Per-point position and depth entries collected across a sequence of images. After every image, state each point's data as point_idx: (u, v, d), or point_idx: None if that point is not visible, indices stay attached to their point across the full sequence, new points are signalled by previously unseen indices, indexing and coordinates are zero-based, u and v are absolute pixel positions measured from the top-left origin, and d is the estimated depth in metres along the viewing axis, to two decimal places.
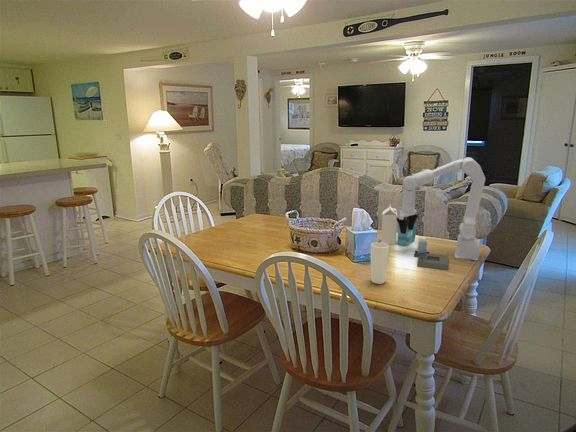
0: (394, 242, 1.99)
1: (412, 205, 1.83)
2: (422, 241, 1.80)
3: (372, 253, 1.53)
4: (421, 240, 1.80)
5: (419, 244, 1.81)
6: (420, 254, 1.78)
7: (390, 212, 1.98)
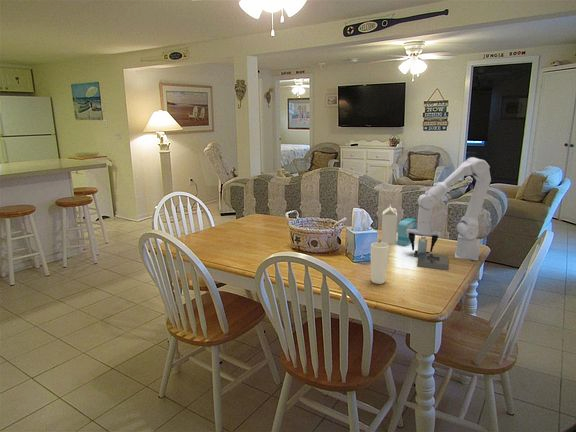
0: (394, 242, 1.99)
1: (420, 224, 1.78)
2: (422, 241, 1.80)
3: (372, 253, 1.53)
4: (421, 240, 1.80)
5: (419, 244, 1.81)
6: (420, 254, 1.78)
7: (390, 212, 1.98)
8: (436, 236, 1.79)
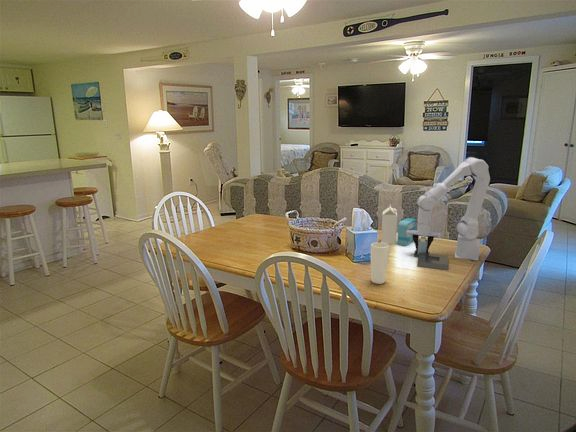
0: (394, 242, 1.99)
1: (420, 225, 1.78)
2: (422, 241, 1.80)
3: (372, 253, 1.53)
4: (421, 240, 1.80)
5: (419, 244, 1.81)
6: (420, 254, 1.78)
7: (390, 212, 1.98)
8: (436, 237, 1.79)
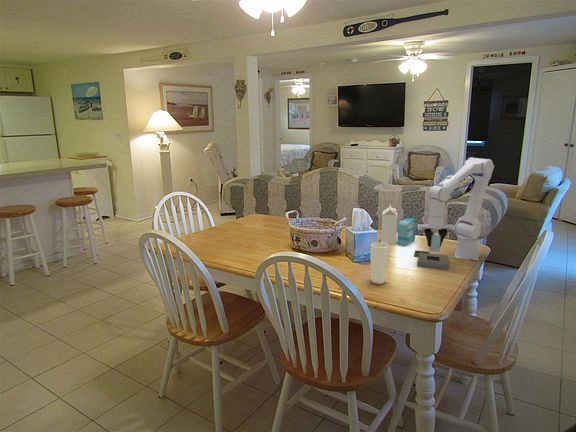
0: (394, 242, 1.99)
1: (435, 218, 1.66)
2: (436, 235, 1.69)
3: (372, 253, 1.53)
4: (435, 234, 1.69)
5: (432, 239, 1.70)
6: (420, 254, 1.78)
7: (390, 212, 1.98)
8: (449, 229, 1.69)
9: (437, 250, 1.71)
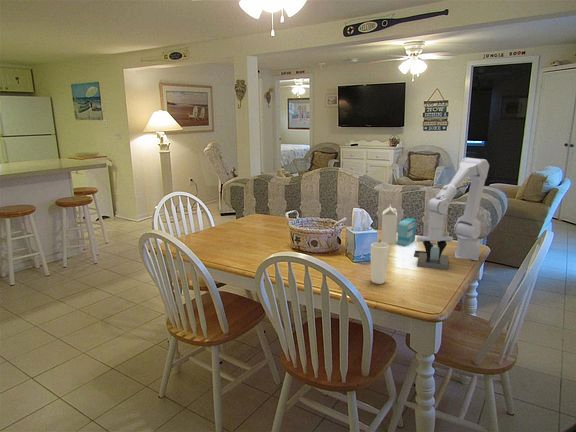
0: (394, 242, 1.99)
1: (434, 230, 1.68)
2: (435, 247, 1.70)
3: (372, 253, 1.53)
4: (434, 246, 1.70)
5: (432, 250, 1.71)
6: (420, 254, 1.78)
7: (390, 212, 1.98)
8: (448, 241, 1.70)
9: None
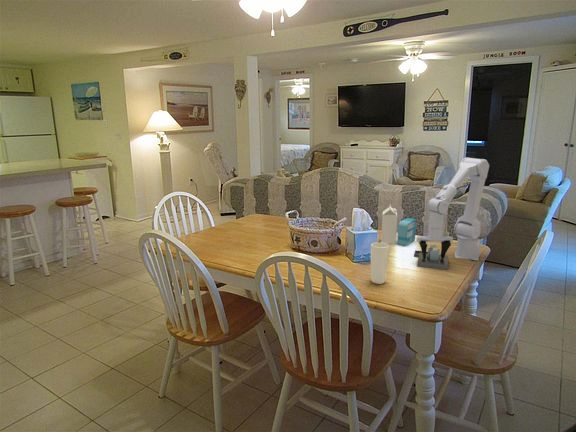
0: (394, 242, 1.99)
1: (434, 230, 1.68)
2: (434, 250, 1.71)
3: (372, 253, 1.53)
4: (433, 249, 1.71)
5: (431, 253, 1.71)
6: (420, 254, 1.78)
7: (390, 212, 1.98)
8: (448, 241, 1.70)
9: None
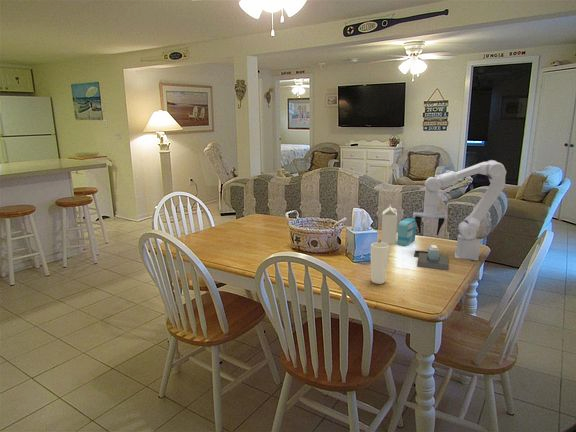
0: (394, 242, 1.99)
1: (427, 206, 1.79)
2: (434, 250, 1.71)
3: (372, 253, 1.53)
4: (433, 249, 1.71)
5: (431, 253, 1.71)
6: (420, 254, 1.78)
7: (390, 212, 1.98)
8: (443, 219, 1.80)
9: None
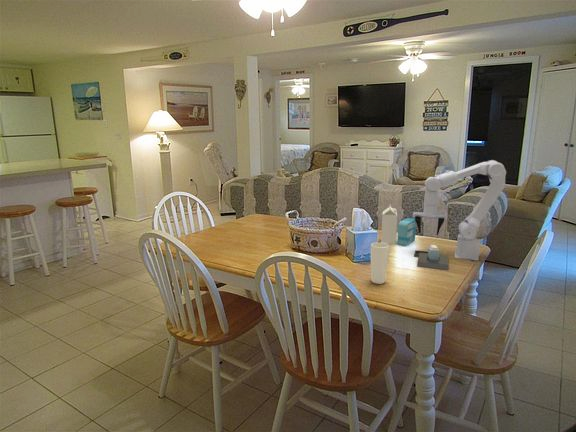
0: (394, 242, 1.99)
1: (427, 206, 1.79)
2: (434, 250, 1.71)
3: (372, 253, 1.53)
4: (433, 249, 1.71)
5: (431, 253, 1.71)
6: (420, 254, 1.78)
7: (390, 212, 1.98)
8: (442, 219, 1.80)
9: None
